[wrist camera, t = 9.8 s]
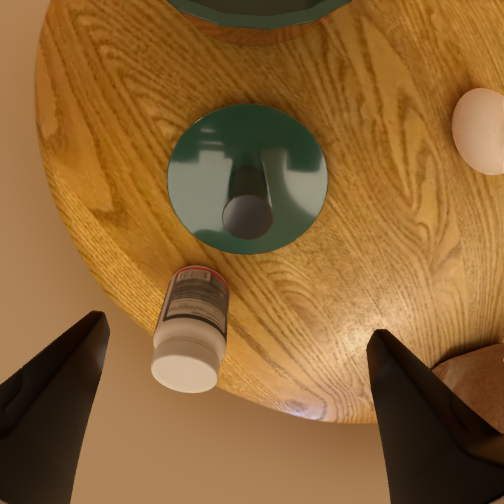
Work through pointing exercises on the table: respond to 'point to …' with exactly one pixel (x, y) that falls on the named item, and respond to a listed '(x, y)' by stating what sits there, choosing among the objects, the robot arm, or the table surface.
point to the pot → (256, 18)
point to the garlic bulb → (480, 130)
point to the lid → (247, 178)
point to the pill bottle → (191, 330)
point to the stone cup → (478, 381)
